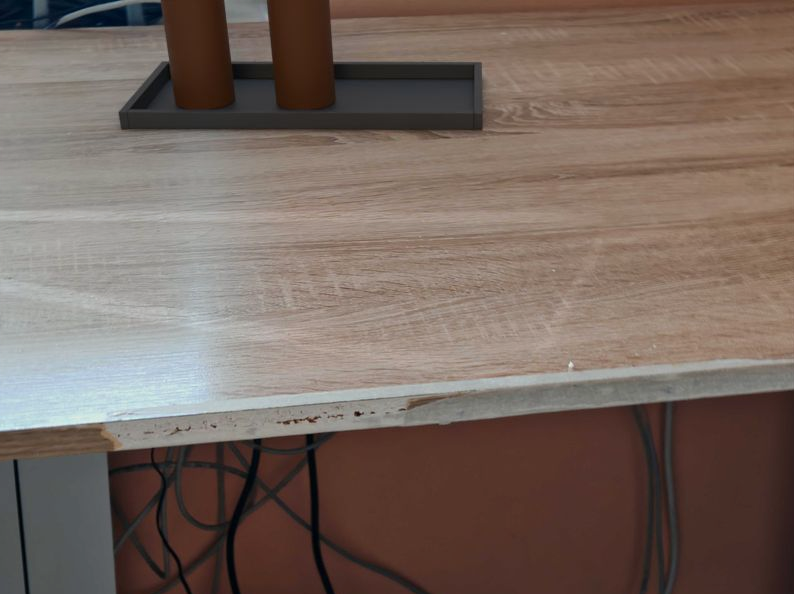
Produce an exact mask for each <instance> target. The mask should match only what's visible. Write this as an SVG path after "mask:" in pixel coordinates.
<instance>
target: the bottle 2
mask: <svg viewBox="0 0 794 594" xmlns="http://www.w3.org/2000/svg"><path fill="white" fill-rule="evenodd" d="M330 5H331V4H330V0H266V7H267V8H266V9H267V19H268V30H269V41H270V52H271V62H272V63H273V73H274V84H275V95H276V103H277V104H278V105H279V106H280V107H282V108H286V109H291V110H315V109H320V108H324V107H327V106H330V105H332V104H333V103H334V102H335V100H336V96H335V80H334V64H333V62H334V52H333V51H334V50H333V37H332V35H333V34H332V20H331V6H330Z"/></svg>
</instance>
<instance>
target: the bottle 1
mask: <svg viewBox="0 0 794 594" xmlns="http://www.w3.org/2000/svg"><path fill="white" fill-rule="evenodd" d="M160 6H161V14H162V21H163V28H164V35H165V41H166V49H167V55H168V61H169V63H170V70H171V77H172V84H173V91H174V98H175V104H176V105H177V106H178V107H181V108H184V109H189V110H211V109H217V108H222V107H225V106H228V105H230V104H232V103H233V102H234V101H235V90H234V81H233V72H232V64H231V62H232V56H231V55H232V54H231V47H230V38H229V29H228V22H227V21H228V20H227V12H226V3H225V0H160Z"/></svg>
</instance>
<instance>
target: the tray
mask: <svg viewBox="0 0 794 594" xmlns="http://www.w3.org/2000/svg"><path fill="white" fill-rule="evenodd" d="M231 64H232V72H233V81H234V90H235V101H234V102H233V103H232V104H230V105H228V106H225V107H222V108H217V109H211V110H189V109H184V108H181V107H178V106H177V105H176V104H175V98H174V91H173V84H172V77H171V70H170V63H169V60H168V61H167V60H165V61H164V60H163V61H161V62H160V63H159V64H158V65H157V67H156V68H155V69H154V70H153V71H152V73H150V75H149V76H148V77H147V78H146V80H144V82H143V83H142V84H141V85H140V86H139V87H138V89H137V90H135V92H134V93H133V94H132V95H131V97H130V98H129V99H128V101H126V102H125V104H124V105H123V106H122V107H121V109H119V111H118V112H117V113H118V120H119V124H120V129H121V130H162V131H163V130H167V131H168V130H172V131H173V130H179V131H180V130H183V131H184V130H185V131H186V130H188V131H189V130H191V131H195V130H196V131H197V130H199V131H202V130H203V131H204V130H206V131H207V130H208V131H213V130H214V131H215V130H216V131H220V130H221V131H224V130H225V131H227V130H228V131H231V130H232V131H233V130H234V131H246V130H247V131H248V130H249V131H253V130H254V131H279V130H280V131H483V117H484V115H483V114H484V113H483V111H484V110H483V62H482V61H333V64H334V80H335V96H336V100H335V102H334V103H333V104H332V105H330V106H327V107H324V108H320V109H315V110H291V109H286V108H282V107H280V106H279V105H278V104H277V103H276V95H275V84H274V73H273V63H272V61H231Z"/></svg>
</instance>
